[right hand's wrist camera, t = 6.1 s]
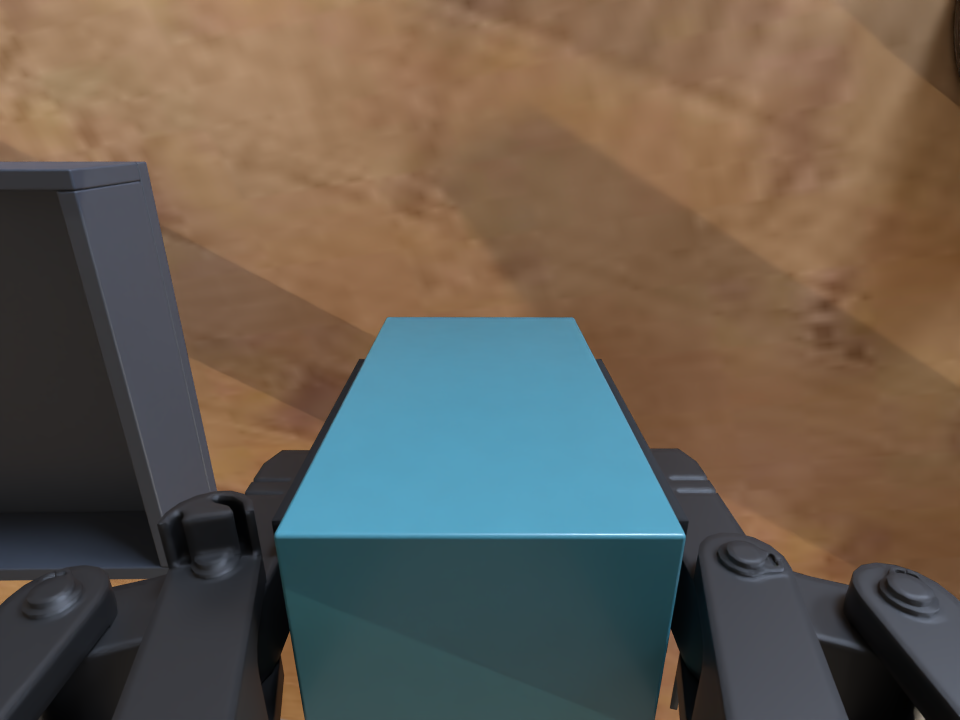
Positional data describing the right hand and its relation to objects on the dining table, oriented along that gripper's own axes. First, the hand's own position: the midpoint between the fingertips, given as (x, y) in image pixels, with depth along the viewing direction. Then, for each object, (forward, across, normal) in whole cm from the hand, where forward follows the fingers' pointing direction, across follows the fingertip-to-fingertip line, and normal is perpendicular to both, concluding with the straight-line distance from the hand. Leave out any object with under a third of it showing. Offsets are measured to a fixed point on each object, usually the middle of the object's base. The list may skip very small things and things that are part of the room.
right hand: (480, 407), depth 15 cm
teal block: (0, 0, 0) cm, 0 cm away
